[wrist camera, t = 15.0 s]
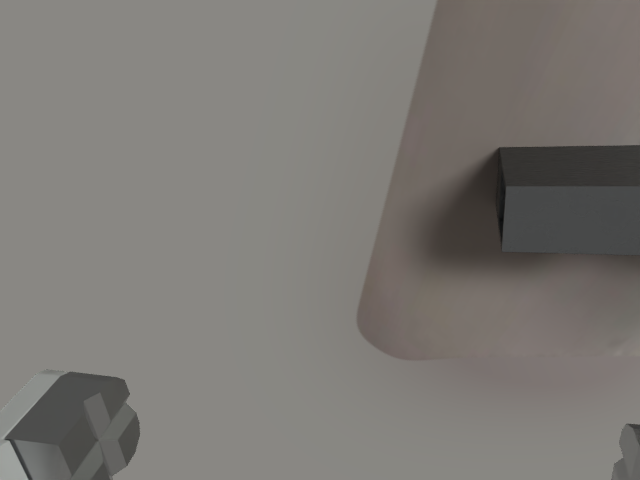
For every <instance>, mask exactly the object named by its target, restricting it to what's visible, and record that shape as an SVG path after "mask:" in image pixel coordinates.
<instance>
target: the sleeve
mask: <svg viewBox="0 0 640 480" xmlns="http://www.w3.org/2000/svg"><path fill="white" fill-rule="evenodd" d="M496 211H497V218H498V226H499V234H500V242H501V250H502V252H534V253H572V254H610V255H640V145H633V146H568V147H503V148H499V162H498V178H497V194H496Z"/></svg>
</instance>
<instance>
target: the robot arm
mask: <svg viewBox="0 0 640 480" xmlns="http://www.w3.org/2000/svg"><path fill="white" fill-rule="evenodd" d="M129 395H130V393H129V390H128V388H127V385H126V383H125V380H123V379H120V378H117V377H110V376H101V375H93V374H85V373H76V372H64V371H55V370H44V371H42V372H39V373H37V374H36V375H35V376H34V377H33V378H32V379H31V380H30V381H29V382H28V383H27V384H26V385H25V386H24V387H23V388H22V389H21V391H19V392H18V393H17V394H16V395H15V396H14V397H13V398H12V400H10V402H9V403H8V404H7V405H6V406H5V407H4V408H3V409H2V410H1V411H0V480H113V479H112V476H113V475H114V474H116V473H117V472H119V471H120V470H122V469H123V468H125V467H126V466H127V465H128V463H129V462H130V460H131V458H132V457H133V455H134V453H135V451H136V447H137V444H138V440H139V436H140V428H139V420H138V417H137V414H136V412H135V411H134V410H133V409H132V408H131V407H130V406H129V405H127V403H126V400H127V398H128V397H129ZM619 444H620V447H621V451H622V454H623V457H624V458H622V459H621V460H619V461H618V462H616V463H615V464H614V468H613V473H612V479H611V480H640V425H637V424H626V425H625V427H624V428H623V429H622V432H621V437H620V441H619Z"/></svg>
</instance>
